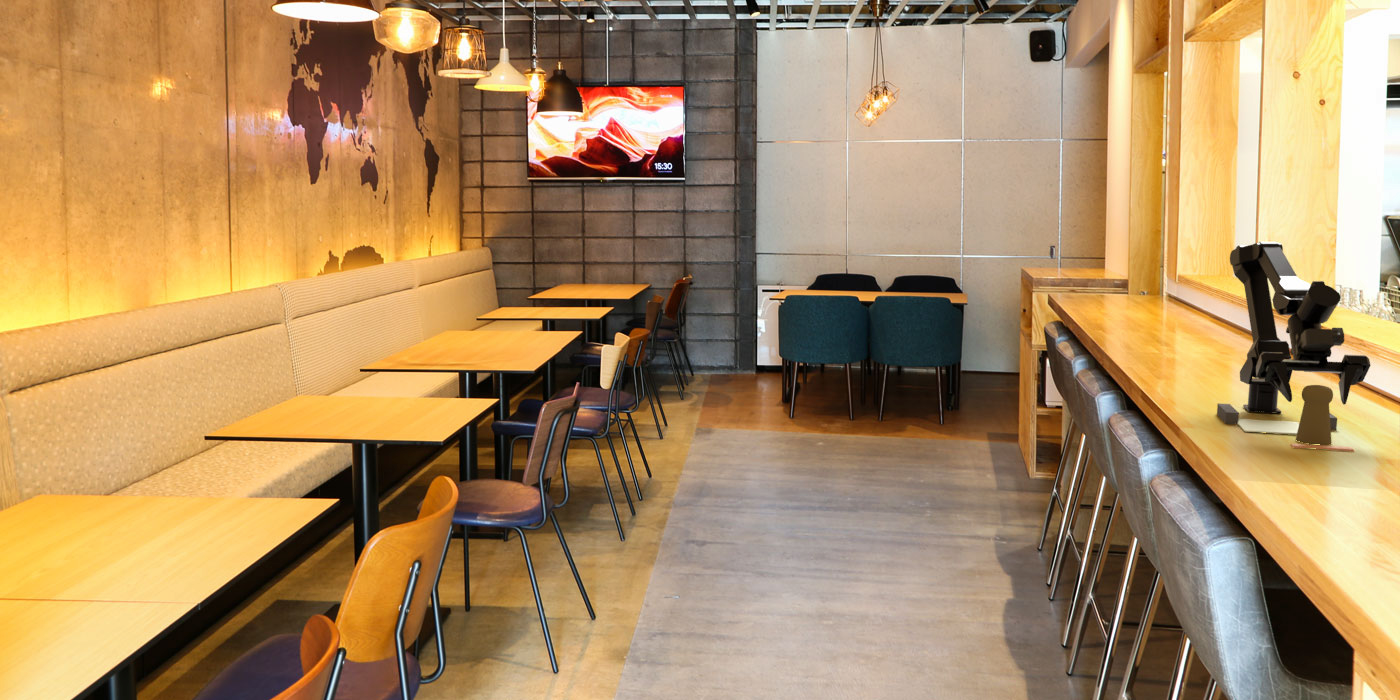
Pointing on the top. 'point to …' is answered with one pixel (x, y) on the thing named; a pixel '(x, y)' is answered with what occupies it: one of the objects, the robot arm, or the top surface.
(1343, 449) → the off strip
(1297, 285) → the robot arm
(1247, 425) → the pad
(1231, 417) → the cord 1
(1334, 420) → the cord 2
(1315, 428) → the cork
